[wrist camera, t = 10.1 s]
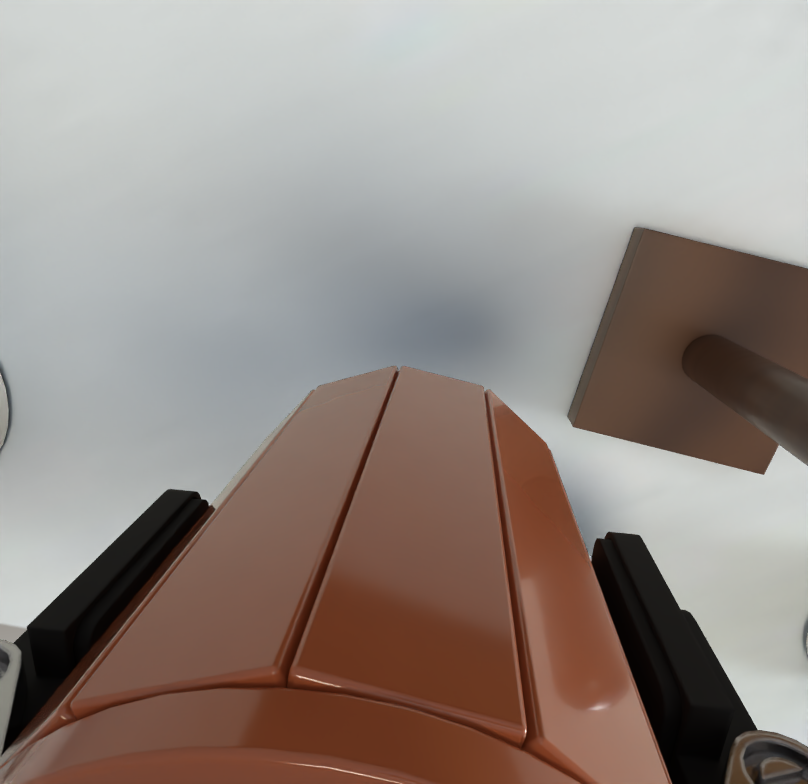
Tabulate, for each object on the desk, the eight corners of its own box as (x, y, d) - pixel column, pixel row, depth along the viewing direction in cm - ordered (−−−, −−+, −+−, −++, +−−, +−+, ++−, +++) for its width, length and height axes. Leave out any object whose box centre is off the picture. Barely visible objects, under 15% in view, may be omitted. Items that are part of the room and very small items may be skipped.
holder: (567, 416, 30) (659, 594, 16) (634, 227, 27) (820, 249, 13) (749, 462, 30) (997, 680, 16) (839, 277, 27) (1242, 354, 13)
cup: (235, 601, 14) (-84, 1166, 6) (279, 333, 12) (-143, 635, 4) (509, 672, 14) (581, 1353, 6) (607, 416, 12) (962, 928, 4)
